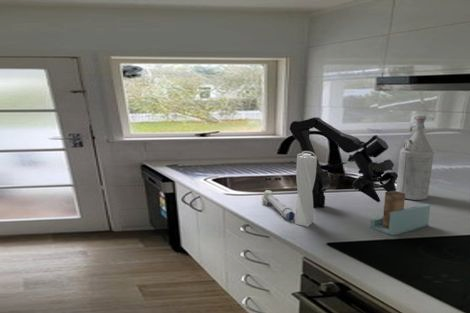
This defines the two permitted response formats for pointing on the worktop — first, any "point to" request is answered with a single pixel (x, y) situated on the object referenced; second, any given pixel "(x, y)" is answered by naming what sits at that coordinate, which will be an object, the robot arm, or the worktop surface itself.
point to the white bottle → (415, 164)
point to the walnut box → (392, 205)
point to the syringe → (277, 205)
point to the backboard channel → (404, 220)
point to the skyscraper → (305, 187)
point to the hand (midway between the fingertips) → (387, 200)
